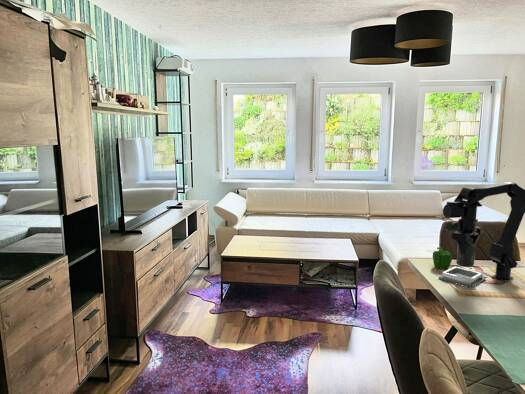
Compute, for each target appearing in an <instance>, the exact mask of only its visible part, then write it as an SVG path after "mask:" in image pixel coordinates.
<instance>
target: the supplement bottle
mask: <svg viewBox="0 0 525 394" xmlns="http://www.w3.org/2000/svg"><path fill="white" fill-rule="evenodd" d="M469 240H470V243H469V245H468V247H467V249H466V251H465V253H464V254H461V252H460V248H459V244H458V243H457V247H456V249H457V250H456V261H455V262H456V264H457V265H458V267H459V266H460V267H463V268H472V267H474V266H475V258H476V257H475V255H476V245H473V244H472V243H473V238H471V237H470V238H469Z"/></svg>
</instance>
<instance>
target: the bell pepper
mask: <svg viewBox="0 0 525 394" xmlns="http://www.w3.org/2000/svg"><path fill="white" fill-rule="evenodd" d="M436 248H437V249H436V250H433V252H432V261H433V265H434V267H435V268H436V269H442V270H449V269H450V268H451V267H450V266H451V263H452V260H453V255H452V253H450V252H449V251H448V250H445V251H444V249H443V248H442V247H436Z"/></svg>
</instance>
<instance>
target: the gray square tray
mask: <svg viewBox="0 0 525 394" xmlns="http://www.w3.org/2000/svg"><path fill="white" fill-rule="evenodd" d="M441 273H442V274H441V275H440V276H438V280H441V281H445V282H448V283H451V282H453V283H452V284H455V283H457V284H456V285H458V284H460V285H459V286H462V285H463V286H462V287H465V286H467V287H466V288H469V287H473V288H474V286H475V285H476V286H478V285H479V283H480V282H481V283H483V282H485V281H486V280H487V279H486V277H484V276H483V274H484V273H482V272H478V271H475V270H471V269H466V268H464V267H463V268H462V267H459V266H453V267H450V268H448V269H445V271H443V272H441ZM484 280H485V281H484ZM482 281H483V282H482ZM481 283H480V284H481ZM477 284H478V285H477ZM476 286H475V287H476Z"/></svg>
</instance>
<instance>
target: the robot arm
mask: <svg viewBox="0 0 525 394" xmlns="http://www.w3.org/2000/svg"><path fill="white" fill-rule="evenodd" d="M502 194H506V195H507V196H508V197H509V198H510V201H509V205H510V213H509V215H508V217H507V220H506V221H505V226H504V228H503V230H502V233H501V235H500V238H499V240H498V241H497V242H492V243H491V247H490V248H489V256H490V258H491V262H492V263H494V264H495V274H493V275H492V276H491V277H492V278H493V279H496V280H500V281H503V282H509V281H511V280H512V279H514V277H513V276H511V273H512V269H515V268H517V266H518V262H517V261H516V260H515V258H514V257H513V255H514V247H513V244H514V240H515V238H516V235H517V232H518V230H519V228H520V225H521V223H522V220H523V219H524V218H523V217H524V215H525V189H524V188H523V187H521V186H520V185H518V183H516V182H511V181H505V182H501V183H495V184H491V185H486V186H464V187H462V188H461V190H460V192H459V194H458V195H457V196H456V197H455V199H454V200H453V201H446V204H445V205H444V206H443V208H442V214H443V216H444V217H445V218H446V219H455V218H459V219H458V221H447V222H446V224H445V227H444V229H446V230H447V232H451V231H454V232H453V233H450V239H451V240H453V241H455V242H457V245H458V244H459V248H460V252H461V254H464V253H465V251H466V249H467V247H468V245H469V243H470V240H469V238H470V237H471V238H473V243H472V244H473V245H474V246H476V243H477V242H478V239H480V237H481V235H483V234H484V228H483V227H482V226H476V225H477V223H478V221H479V219H477V213H478V212H477V211H478V207H479V208H480V207H483V204H481V202H480V201H482V200H484V199H485V198H487V197H492V196H496V195H502Z"/></svg>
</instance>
